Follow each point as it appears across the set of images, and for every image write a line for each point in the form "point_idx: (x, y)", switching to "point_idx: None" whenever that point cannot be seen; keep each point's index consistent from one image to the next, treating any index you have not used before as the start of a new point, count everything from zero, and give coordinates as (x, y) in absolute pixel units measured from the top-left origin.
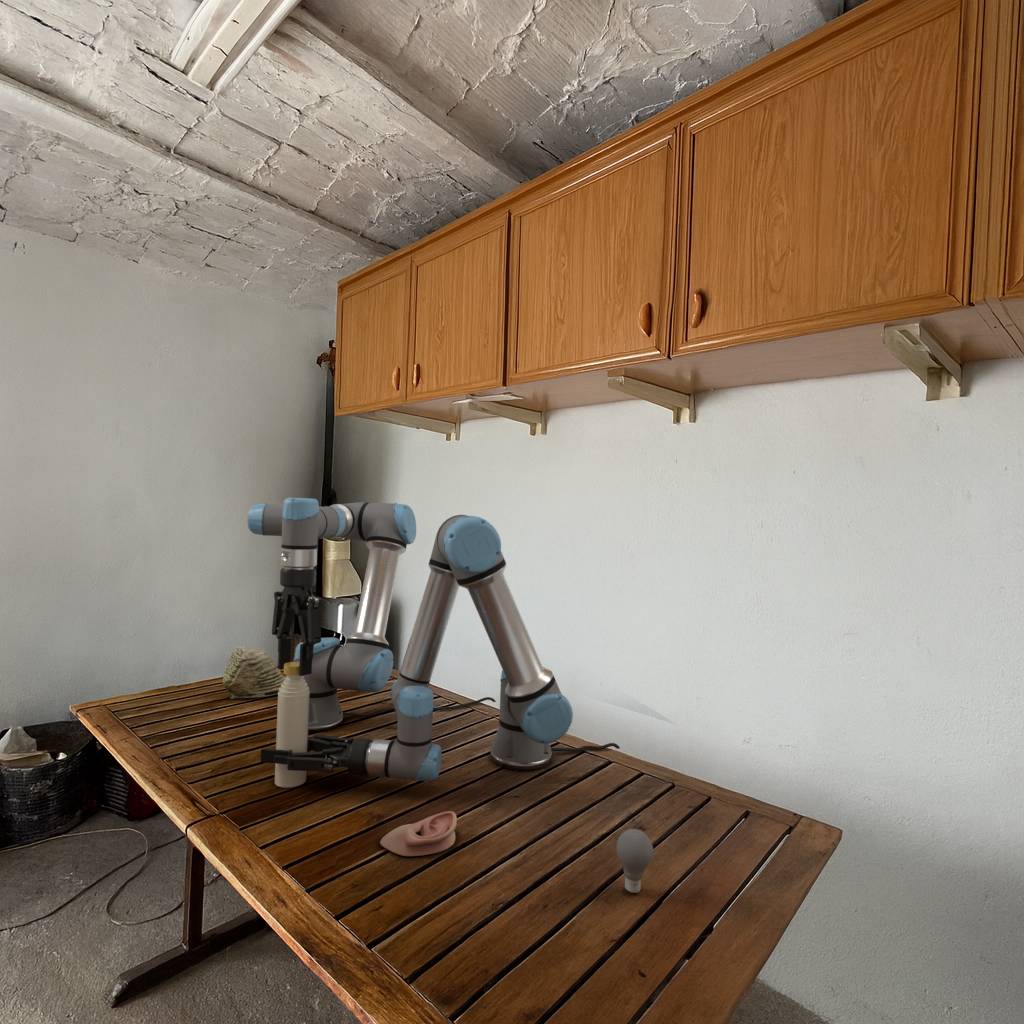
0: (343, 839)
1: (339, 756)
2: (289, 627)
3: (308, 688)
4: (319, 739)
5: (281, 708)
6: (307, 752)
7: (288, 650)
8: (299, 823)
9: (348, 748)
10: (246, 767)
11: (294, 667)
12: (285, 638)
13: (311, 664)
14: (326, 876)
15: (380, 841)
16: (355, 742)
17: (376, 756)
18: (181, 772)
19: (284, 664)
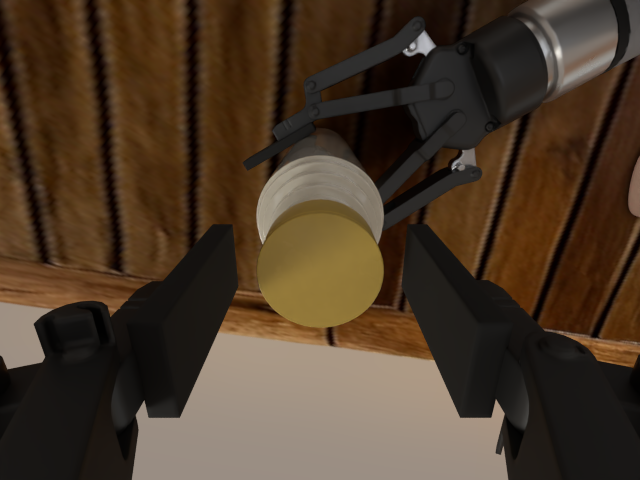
0: (562, 236)
1: (473, 139)
2: (96, 461)
3: (369, 184)
4: (344, 99)
5: None
6: (389, 179)
7: (202, 289)
8: (464, 249)
9: (457, 85)
10: (195, 181)
11: (367, 305)
12: (136, 366)
13: (443, 247)
14: (597, 307)
15: (632, 212)
16: (512, 97)
17: (578, 85)
18: (136, 270)
19: (284, 315)
